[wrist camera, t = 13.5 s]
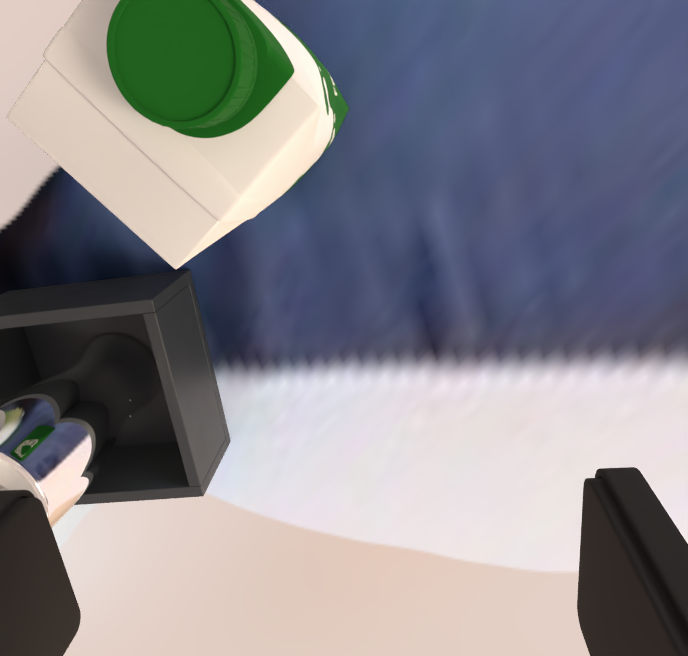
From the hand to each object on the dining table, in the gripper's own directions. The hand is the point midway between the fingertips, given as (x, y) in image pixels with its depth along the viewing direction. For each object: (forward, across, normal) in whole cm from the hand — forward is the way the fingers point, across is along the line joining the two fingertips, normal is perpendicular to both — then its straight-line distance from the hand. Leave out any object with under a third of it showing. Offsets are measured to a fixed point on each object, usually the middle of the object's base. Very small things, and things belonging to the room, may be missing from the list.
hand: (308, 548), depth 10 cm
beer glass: (+29, +19, +9) cm, 36 cm away
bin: (+30, +19, +10) cm, 37 cm away
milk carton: (+30, +6, -7) cm, 31 cm away
